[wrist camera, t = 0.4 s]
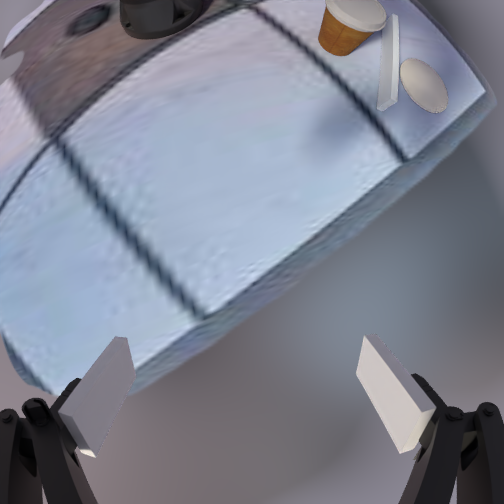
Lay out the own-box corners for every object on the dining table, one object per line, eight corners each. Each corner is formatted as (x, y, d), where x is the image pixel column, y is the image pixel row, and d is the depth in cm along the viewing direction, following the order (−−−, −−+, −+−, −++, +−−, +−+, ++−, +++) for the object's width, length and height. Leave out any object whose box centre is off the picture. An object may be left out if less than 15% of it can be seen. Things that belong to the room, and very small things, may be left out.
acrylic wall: (382, 111, 38) (397, 101, 33) (376, 108, 38) (390, 98, 33) (387, 28, 36) (398, 16, 31) (382, 25, 35) (392, 13, 30)
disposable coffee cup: (336, 19, 35) (358, -19, 23) (370, 55, 36) (400, 21, 24) (297, 32, 35) (313, -11, 23) (333, 70, 37) (360, 32, 25)
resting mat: (394, 52, 36) (395, 51, 36) (439, 69, 37) (440, 68, 36) (405, 104, 38) (406, 104, 37) (451, 119, 38) (452, 118, 38)
